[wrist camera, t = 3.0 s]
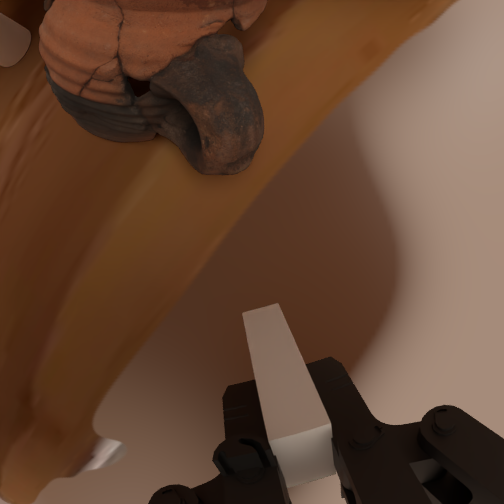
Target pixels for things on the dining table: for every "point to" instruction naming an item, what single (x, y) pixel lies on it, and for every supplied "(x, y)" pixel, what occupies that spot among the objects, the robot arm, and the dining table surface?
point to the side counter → (12, 41)
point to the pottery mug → (157, 74)
